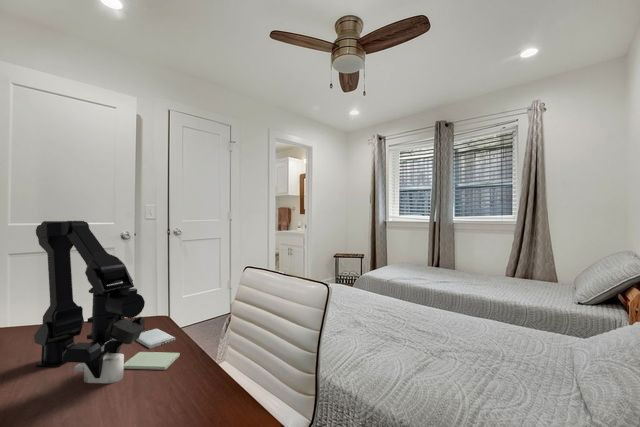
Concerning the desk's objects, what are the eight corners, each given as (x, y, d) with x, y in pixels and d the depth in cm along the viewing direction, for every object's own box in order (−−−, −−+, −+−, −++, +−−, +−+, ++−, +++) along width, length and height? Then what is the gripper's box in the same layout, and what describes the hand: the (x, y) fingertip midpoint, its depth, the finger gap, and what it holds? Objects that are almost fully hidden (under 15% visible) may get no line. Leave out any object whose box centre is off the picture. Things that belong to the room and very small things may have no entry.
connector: (69, 382, 72) (70, 359, 72) (83, 373, 76) (84, 352, 76) (116, 383, 72) (116, 361, 72) (126, 374, 76) (127, 353, 76)
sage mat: (121, 368, 79) (121, 365, 79) (139, 354, 87) (139, 351, 87) (165, 369, 79) (165, 366, 79) (179, 355, 87) (179, 352, 87)
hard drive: (132, 335, 98) (149, 344, 91) (157, 328, 105) (175, 336, 97) (132, 340, 98) (149, 350, 91) (157, 332, 105) (175, 341, 97)
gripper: (111, 326, 64) (109, 396, 64) (158, 301, 83) (156, 356, 83) (61, 324, 64) (58, 395, 64) (119, 300, 83) (117, 355, 83)
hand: (104, 373), depth 74 cm, fingers closed on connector, 4 cm apart
